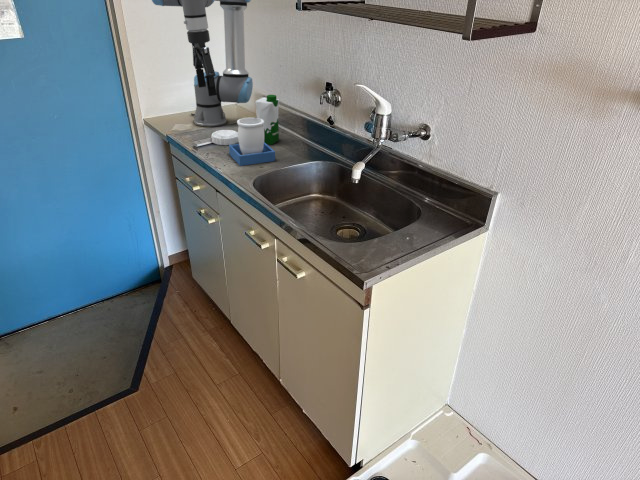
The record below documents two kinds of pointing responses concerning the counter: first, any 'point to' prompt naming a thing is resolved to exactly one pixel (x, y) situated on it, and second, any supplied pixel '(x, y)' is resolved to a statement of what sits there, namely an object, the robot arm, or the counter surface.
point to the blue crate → (251, 155)
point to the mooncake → (225, 137)
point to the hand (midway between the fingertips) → (207, 91)
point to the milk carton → (269, 117)
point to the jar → (251, 135)
